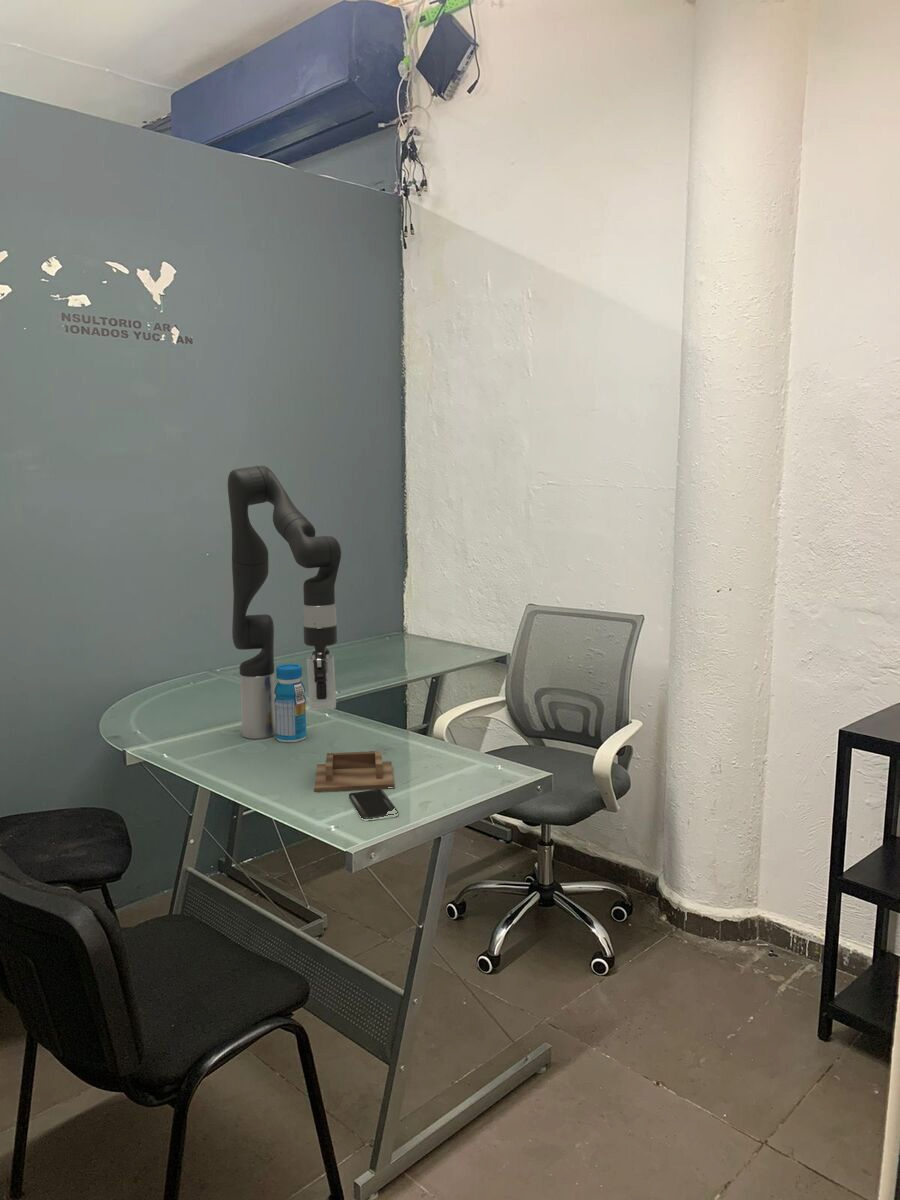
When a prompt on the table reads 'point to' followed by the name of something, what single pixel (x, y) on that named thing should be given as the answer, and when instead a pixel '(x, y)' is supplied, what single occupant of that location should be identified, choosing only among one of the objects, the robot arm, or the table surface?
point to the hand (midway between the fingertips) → (322, 696)
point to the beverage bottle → (290, 704)
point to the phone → (371, 803)
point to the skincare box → (330, 686)
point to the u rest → (353, 772)
